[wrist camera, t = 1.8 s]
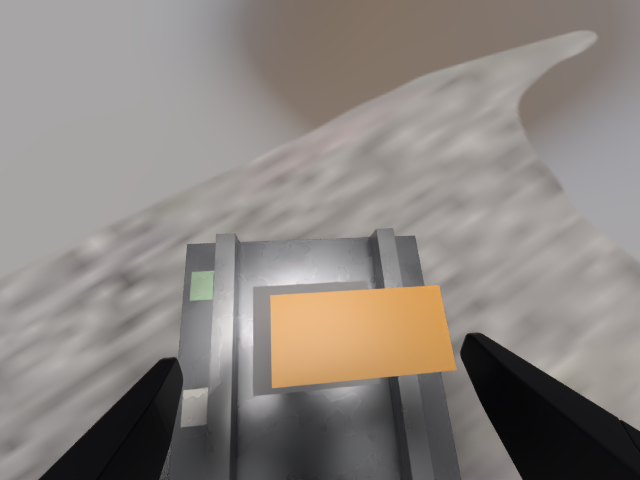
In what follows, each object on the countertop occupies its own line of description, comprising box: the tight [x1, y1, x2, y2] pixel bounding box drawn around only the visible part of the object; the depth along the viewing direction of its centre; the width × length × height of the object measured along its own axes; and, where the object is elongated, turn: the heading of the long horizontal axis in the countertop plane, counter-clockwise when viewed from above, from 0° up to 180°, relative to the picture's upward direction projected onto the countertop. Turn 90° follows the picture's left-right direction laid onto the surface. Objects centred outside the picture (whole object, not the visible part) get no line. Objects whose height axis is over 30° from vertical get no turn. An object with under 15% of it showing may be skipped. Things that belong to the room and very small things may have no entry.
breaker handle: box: [253, 281, 456, 396], centre depth 10 cm, size 5×6×11 cm
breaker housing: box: [169, 228, 461, 480], centre depth 15 cm, size 15×14×4 cm
